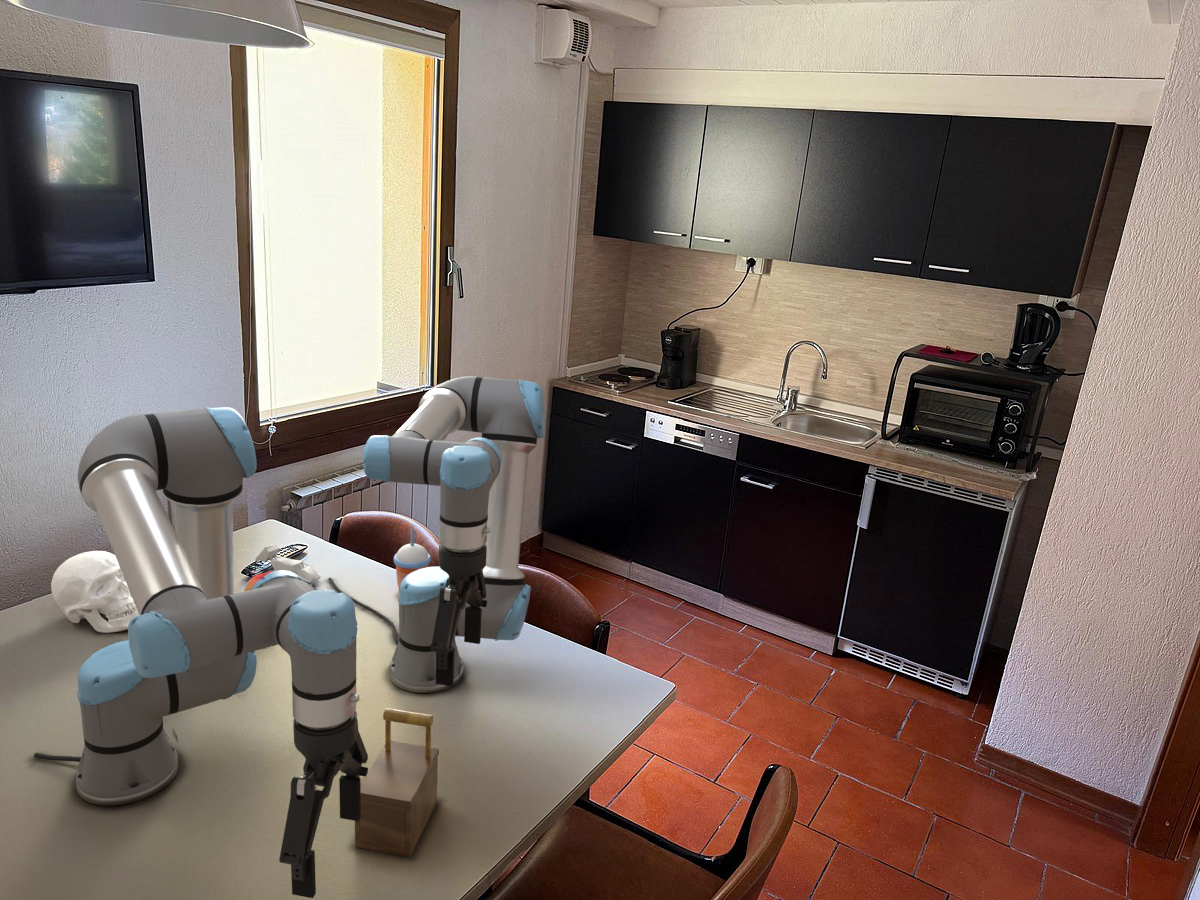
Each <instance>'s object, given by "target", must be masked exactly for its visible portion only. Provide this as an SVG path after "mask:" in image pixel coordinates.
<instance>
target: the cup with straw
mask: <svg viewBox="0 0 1200 900" xmlns="http://www.w3.org/2000/svg"><path fill="white" fill-rule="evenodd" d="M415 531H416V529H415V528H410V543H407V544H404V545H403V546H401V547H400V548H399V549H398V551H397V552H396V553H395V554H394V556H393V558H392V559H393V563H394V565H395V566H396V567H395V572H396V581H397V583H396V584H397V586H398V596H399V595H400V585H401V582H402V580H403V579H404V578H405V577H406V576H407V575H408V574H410V573H412V572H414V571H417V570H419V569H422V568H427V567H429V564H430V563H431V561H432V556H431V555H430V553H429V552H428V551H427V549H426V548H425V547H424V546H423V545H421V544H418V543H415Z"/></svg>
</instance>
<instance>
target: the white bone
mask: <svg viewBox="0 0 1200 900" xmlns="http://www.w3.org/2000/svg"><path fill="white" fill-rule="evenodd" d="M280 549H281V547H279V546H278V545H277V544H272V545H266V546H264V547H263V549H262V550H261V551H260V552H259V554H258V555H257V556H256V557H255V559H254V562H255V563H256V561H259V560H262V561H268V560H271V562H270V563H269V564H271V565H272V566H273V568H274V571H279V570H286V571H291V572H293V573H295V574H297V575H298V576H300V577H301V578H303V579H304V580H307V581H308V582H309V583H310V584H312V585H314V584H316V583H318V582H319V580H320V579H321V578H322V577H321V575H320V574H319V573H318V572H317V570H315V569H314V568H313V566H312V565H310V564H309V565H308V564H307V563H305V562H304V561H303V560H301V559H300V560H299V559H292V558H289V557H285V556H278V553H279V551H280ZM273 558H274V559H273ZM272 559H273V560H272ZM305 566H306V567H305ZM270 571H271V570H270Z"/></svg>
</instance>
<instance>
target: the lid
mask: <svg viewBox="0 0 1200 900" xmlns="http://www.w3.org/2000/svg"><path fill="white" fill-rule="evenodd" d="M382 717H383V718H382V719H383V720H384V721H385V722H384V723H385V726H384V727H385V728H384V729H385V731H384V732H385V736H384V737H385V739H384V740H385V741H384V742H385V743H384V745H383V747H382V748H381V750H380V752H378V755H377V756H376V757H375V759H374V761H373V763H372V764H371V766H370V767H369V768H368V773H367V775H366V777H365V776H363V778H362V780H361V799H365V800H371V801H377V802H382V803H388V804H394V805H400V806H405V807H411V806H412V804H413V802H414V800H415V798H416V796H417V794H418V793H419V791H420V789H421V787H422V785H423V783H424V781H425V779H426V778H427V776H428V774H429V772H430V770H431V768H432V766H433V764H434V762H435V761H436V759H437V757H438V758H439V755H440V749H439V748H437V747H432V726H433V723H434V715H433V714H427V713H421V712H415V711H409V710H403V709H396V708H391V707H386V708H385V709H384V711H383V714H382ZM393 722H394V723H399V724H407V725H412V726H417V727H424V728H425V746H424V745H419V744H413V743H406V742H400V741H395V740H391V739H392V723H393Z"/></svg>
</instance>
